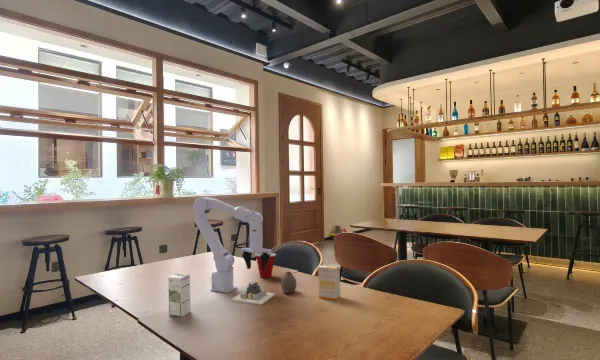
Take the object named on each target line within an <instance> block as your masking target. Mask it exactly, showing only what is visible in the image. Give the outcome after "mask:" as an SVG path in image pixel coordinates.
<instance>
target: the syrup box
mask: <svg viewBox="0 0 600 360" xmlns="http://www.w3.org/2000/svg"><path fill="white" fill-rule="evenodd" d="M167 279H168V280H167V281H168V282H167V283H168V316H173V317H180V318H182V317H184V316H186V315H188V314H190V313H191V311H192V308H191V274H190V273H181V272H180V273H174V274H172V275H170V276H168V278H167Z"/></svg>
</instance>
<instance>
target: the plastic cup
mask: <svg viewBox="0 0 600 360" xmlns="http://www.w3.org/2000/svg"><path fill="white" fill-rule="evenodd" d="M254 254H255V257H256V263H257V267H258V274H259V277H260V278H261V279H269V278H272V276H273V275H272V274H273V269H274V268H273V267H274V261H275V258H276V256H277V254H276V253H274V252H273V253H272V252H271V254H270V257H269V259H268V261H267V265H266V269H265V270H262V260H261V256H260V255H262V254H260V253H254Z"/></svg>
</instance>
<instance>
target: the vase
mask: <svg viewBox="0 0 600 360" xmlns="http://www.w3.org/2000/svg"><path fill="white" fill-rule="evenodd" d="M280 281H281V282H280V287H281V290H282V292H284V293H285V294H292V293H294V292H295V291H296V289H297V279H296V277H295V276H294V275H293V273H292V272H291V271H285V273H284V275H283V277H282V278H281V280H280Z"/></svg>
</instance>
